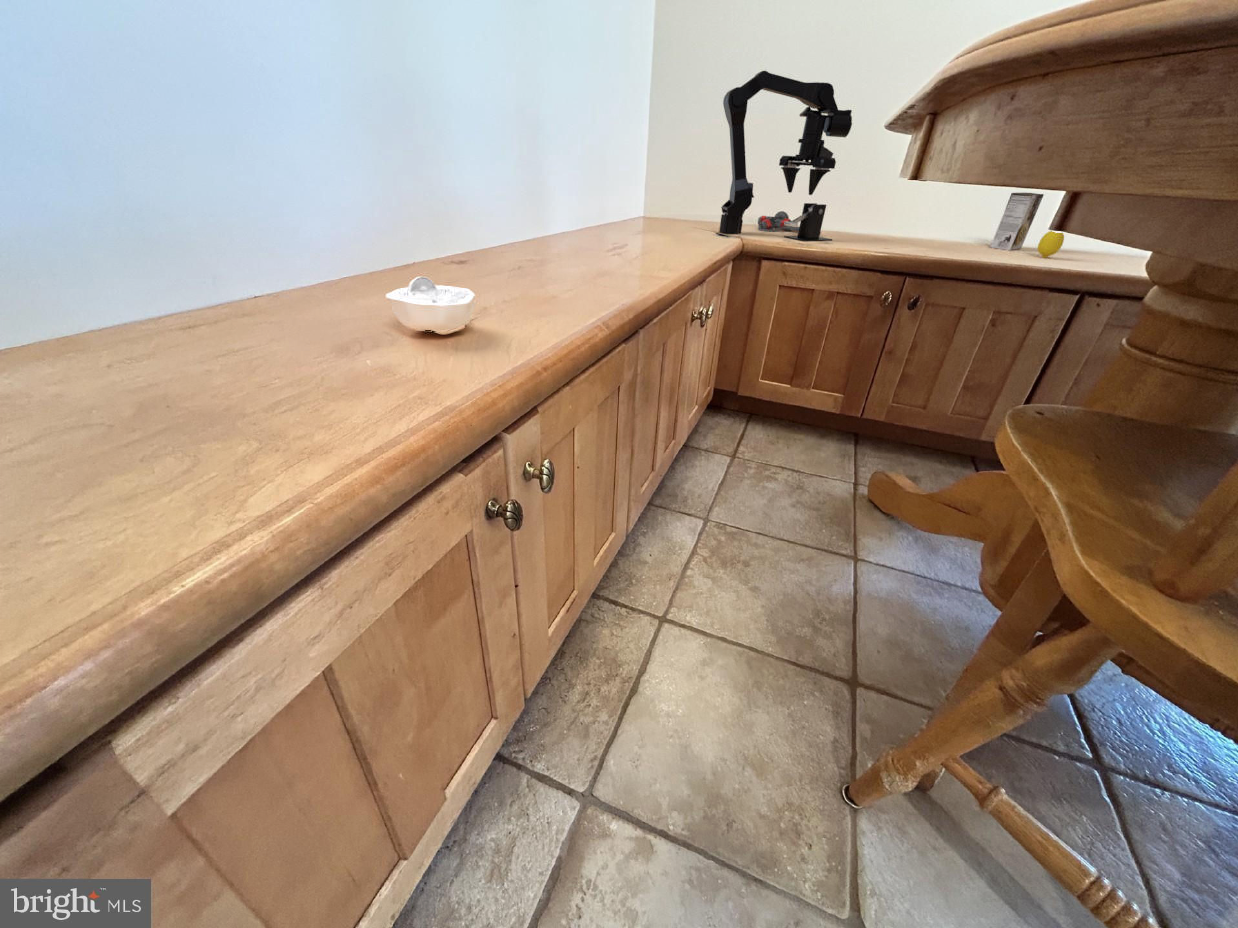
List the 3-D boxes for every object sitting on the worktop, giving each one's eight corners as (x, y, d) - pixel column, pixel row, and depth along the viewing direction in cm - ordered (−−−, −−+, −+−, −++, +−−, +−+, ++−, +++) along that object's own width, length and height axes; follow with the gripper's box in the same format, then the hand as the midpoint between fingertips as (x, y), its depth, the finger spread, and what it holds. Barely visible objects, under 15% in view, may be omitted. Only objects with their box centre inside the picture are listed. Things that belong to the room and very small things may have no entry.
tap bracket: (802, 244, 154) (810, 205, 149) (783, 240, 161) (790, 202, 155) (831, 243, 159) (840, 205, 153) (811, 239, 166) (819, 202, 160)
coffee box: (1000, 246, 170) (1022, 192, 162) (1021, 248, 166) (1045, 193, 157) (988, 247, 165) (1010, 192, 157) (1010, 250, 161) (1034, 193, 152)
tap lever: (795, 230, 153) (794, 222, 151) (784, 227, 157) (783, 220, 155) (823, 213, 154) (823, 205, 153) (812, 211, 158) (811, 203, 156)
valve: (739, 235, 182) (767, 227, 188) (798, 249, 165) (826, 240, 171) (741, 216, 178) (769, 208, 184) (801, 228, 161) (830, 219, 167)
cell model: (428, 351, 60) (419, 293, 57) (379, 329, 67) (368, 276, 63) (496, 334, 67) (491, 281, 63) (446, 315, 74) (439, 267, 70)
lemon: (1037, 258, 147) (1050, 229, 143) (1029, 255, 152) (1042, 227, 148) (1058, 260, 146) (1073, 230, 142) (1050, 257, 151) (1063, 228, 147)
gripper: (855, 137, 147) (840, 197, 156) (809, 137, 161) (798, 192, 170) (828, 134, 143) (814, 196, 151) (783, 135, 157) (772, 191, 165)
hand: (799, 193), depth 159 cm, fingers open, 9 cm apart
